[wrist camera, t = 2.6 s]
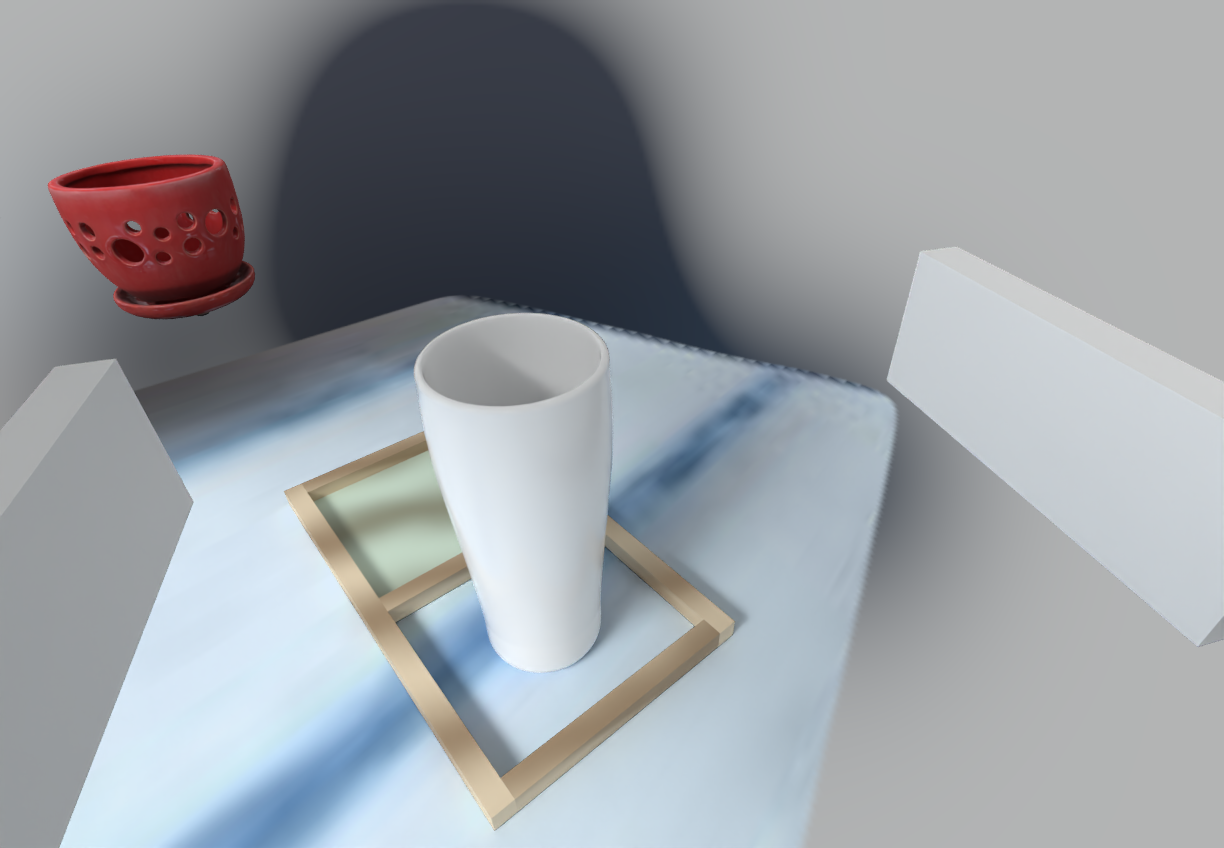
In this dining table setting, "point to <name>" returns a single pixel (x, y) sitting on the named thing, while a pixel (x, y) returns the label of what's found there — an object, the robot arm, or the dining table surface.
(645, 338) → the dining table surface
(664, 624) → the dining table surface
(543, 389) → the drinking glass
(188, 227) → the plant pot
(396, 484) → the wooden window frame
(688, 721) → the dining table surface
